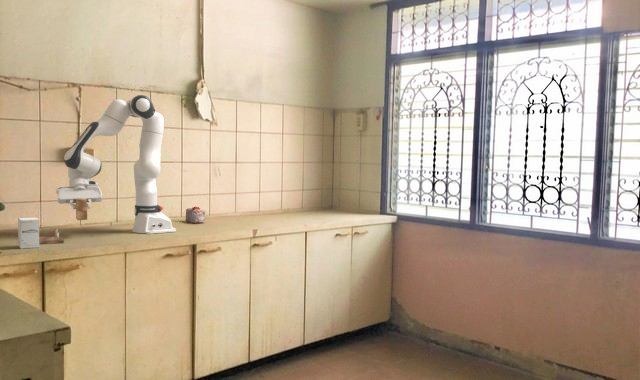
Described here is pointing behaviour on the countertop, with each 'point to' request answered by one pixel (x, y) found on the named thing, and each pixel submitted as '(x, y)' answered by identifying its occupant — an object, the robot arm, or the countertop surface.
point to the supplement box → (28, 233)
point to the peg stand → (51, 238)
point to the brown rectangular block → (81, 209)
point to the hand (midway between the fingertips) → (81, 208)
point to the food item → (195, 215)
